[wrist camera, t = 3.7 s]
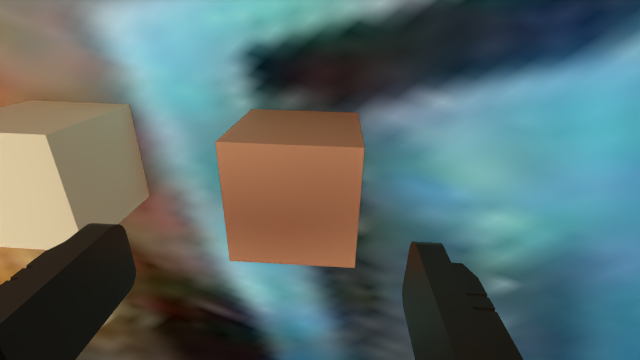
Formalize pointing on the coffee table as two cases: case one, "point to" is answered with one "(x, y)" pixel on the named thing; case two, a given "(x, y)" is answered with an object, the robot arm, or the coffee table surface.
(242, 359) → the coffee table surface
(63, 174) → the cream cube
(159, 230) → the coffee table surface
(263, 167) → the terracotta cube
